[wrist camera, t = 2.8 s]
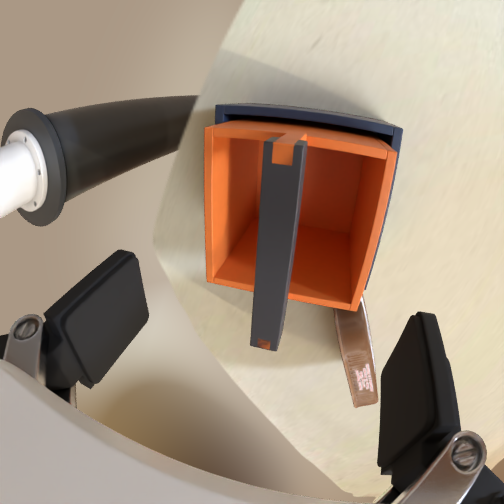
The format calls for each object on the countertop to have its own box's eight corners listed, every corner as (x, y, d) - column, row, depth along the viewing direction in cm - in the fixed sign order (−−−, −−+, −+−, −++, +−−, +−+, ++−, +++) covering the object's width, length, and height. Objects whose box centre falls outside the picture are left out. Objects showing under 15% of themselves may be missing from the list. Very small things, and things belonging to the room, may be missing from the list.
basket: (250, 220, 28) (177, 326, 15) (256, 113, 23) (159, 135, 10) (353, 238, 26) (355, 366, 13) (372, 129, 21) (421, 168, 8)
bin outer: (241, 225, 29) (214, 261, 23) (246, 103, 23) (215, 104, 17) (361, 246, 26) (365, 290, 21) (385, 121, 20) (403, 128, 15)
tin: (330, 268, 28) (324, 326, 21) (361, 262, 27) (365, 320, 20) (355, 366, 34) (351, 421, 27) (379, 362, 33) (379, 418, 26)
